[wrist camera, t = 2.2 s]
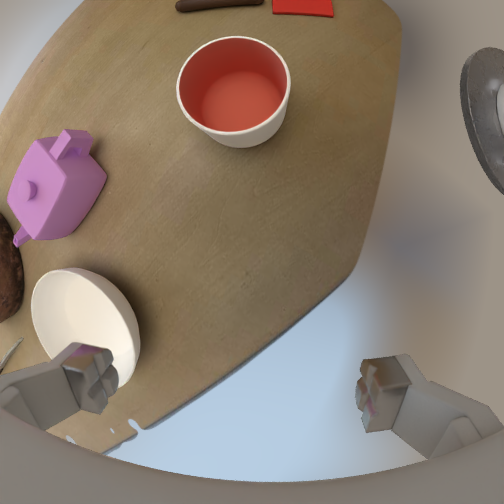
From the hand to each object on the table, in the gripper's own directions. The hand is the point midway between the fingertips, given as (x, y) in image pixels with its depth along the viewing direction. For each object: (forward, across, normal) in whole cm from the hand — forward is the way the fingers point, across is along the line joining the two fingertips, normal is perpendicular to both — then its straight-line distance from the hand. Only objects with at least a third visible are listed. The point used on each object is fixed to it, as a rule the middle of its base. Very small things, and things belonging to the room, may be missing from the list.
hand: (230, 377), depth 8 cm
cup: (+27, +2, -15) cm, 31 cm away
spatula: (+27, 0, -32) cm, 42 cm away
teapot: (+27, +27, -7) cm, 39 cm away
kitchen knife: (+27, +60, +29) cm, 72 cm away
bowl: (+27, +24, +12) cm, 38 cm away
